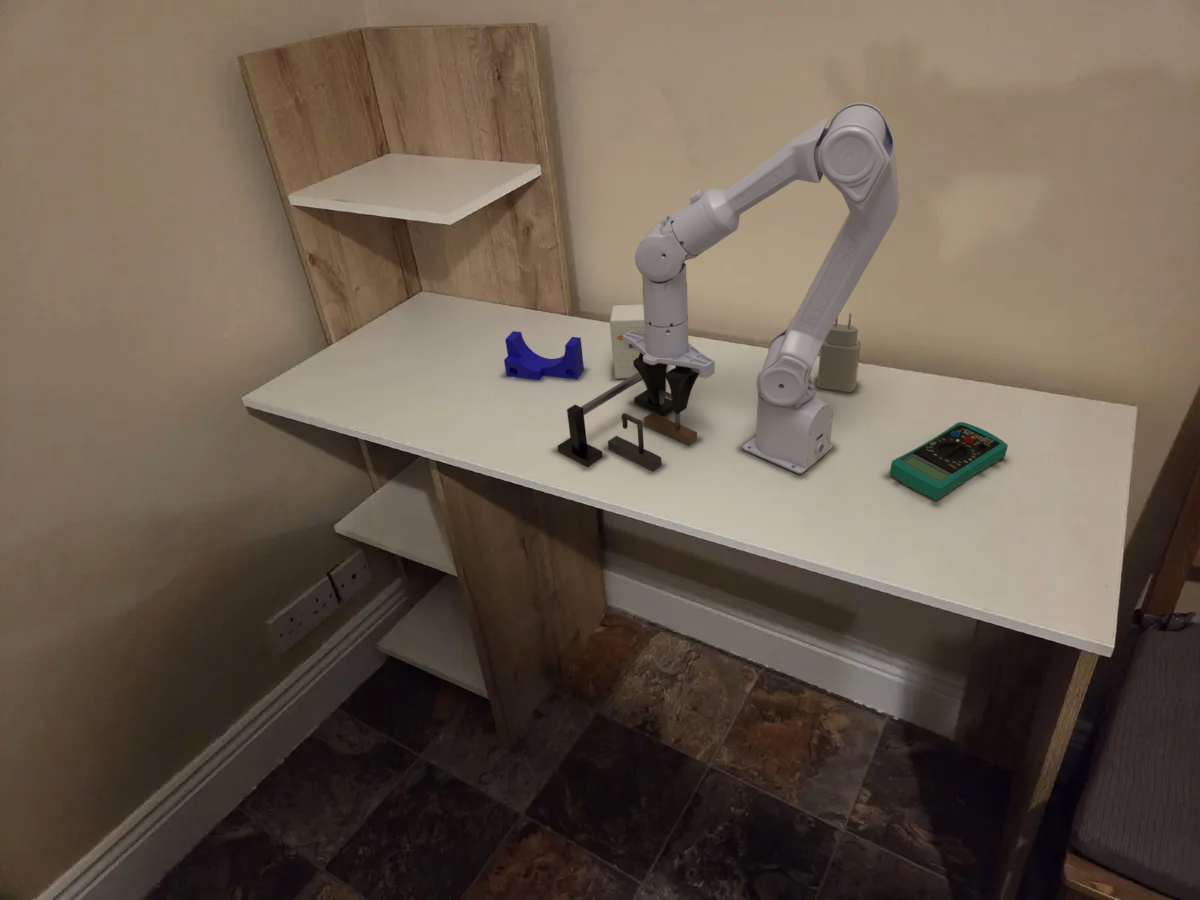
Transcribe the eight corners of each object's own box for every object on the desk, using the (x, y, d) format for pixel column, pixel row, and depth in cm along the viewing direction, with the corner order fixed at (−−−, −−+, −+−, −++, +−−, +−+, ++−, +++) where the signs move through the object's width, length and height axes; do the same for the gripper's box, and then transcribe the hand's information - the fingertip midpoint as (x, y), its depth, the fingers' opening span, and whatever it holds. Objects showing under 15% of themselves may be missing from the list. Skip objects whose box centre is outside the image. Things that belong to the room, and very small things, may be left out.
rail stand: (677, 407, 121) (675, 363, 117) (587, 467, 111) (582, 421, 106) (647, 395, 125) (644, 351, 120) (557, 451, 114) (551, 406, 110)
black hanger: (661, 465, 110) (660, 424, 106) (653, 471, 109) (650, 430, 105) (617, 443, 115) (613, 403, 111) (608, 449, 114) (604, 409, 110)
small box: (665, 361, 133) (662, 302, 127) (664, 378, 128) (661, 318, 122) (616, 362, 134) (612, 304, 128) (614, 379, 129) (609, 320, 123)
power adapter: (852, 392, 120) (861, 319, 113) (816, 387, 122) (822, 315, 115) (856, 382, 122) (865, 310, 115) (820, 377, 124) (827, 305, 118)
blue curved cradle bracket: (506, 376, 133) (501, 343, 129) (517, 362, 136) (512, 331, 133) (574, 384, 129) (570, 350, 126) (584, 370, 133) (580, 337, 129)
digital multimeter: (1008, 457, 105) (1013, 438, 103) (935, 504, 98) (939, 485, 97) (958, 433, 110) (962, 415, 108) (886, 477, 104) (889, 458, 102)
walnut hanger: (697, 440, 114) (696, 400, 110) (689, 445, 113) (688, 405, 109) (652, 420, 119) (650, 381, 115) (644, 425, 118) (642, 386, 114)
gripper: (604, 314, 107) (612, 401, 115) (689, 344, 99) (691, 436, 106) (640, 295, 111) (645, 380, 119) (725, 323, 103) (724, 413, 110)
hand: (669, 405), depth 113 cm, fingers closed on walnut hanger, 3 cm apart
